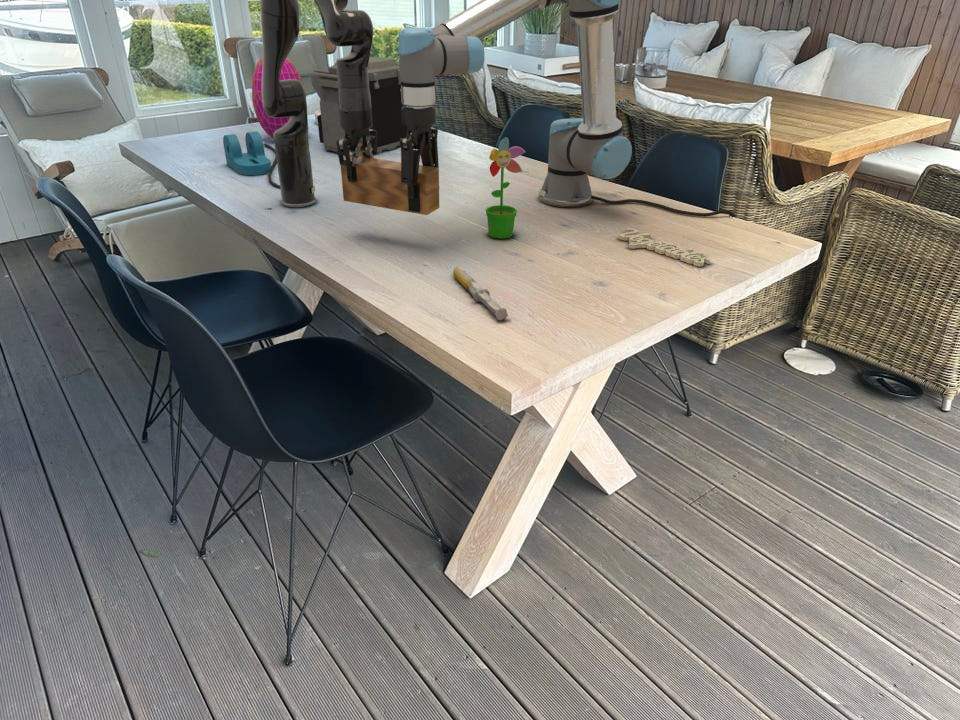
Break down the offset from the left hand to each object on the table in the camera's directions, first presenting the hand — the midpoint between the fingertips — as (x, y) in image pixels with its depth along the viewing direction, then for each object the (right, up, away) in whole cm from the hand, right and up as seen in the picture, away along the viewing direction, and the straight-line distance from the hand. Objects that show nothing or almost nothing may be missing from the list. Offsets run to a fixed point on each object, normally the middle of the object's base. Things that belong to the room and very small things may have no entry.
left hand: (360, 177), depth 168 cm
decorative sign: (+74, -17, +2) cm, 76 cm away
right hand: (+15, -8, -4) cm, 18 cm away
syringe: (+29, -31, -23) cm, 48 cm away
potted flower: (+35, -12, +9) cm, 38 cm away
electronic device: (-12, +36, +90) cm, 98 cm away
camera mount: (-47, +19, +61) cm, 80 cm away
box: (+8, -7, 0) cm, 10 cm away
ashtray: (-29, +57, +126) cm, 142 cm away
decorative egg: (-46, +40, +97) cm, 115 cm away
